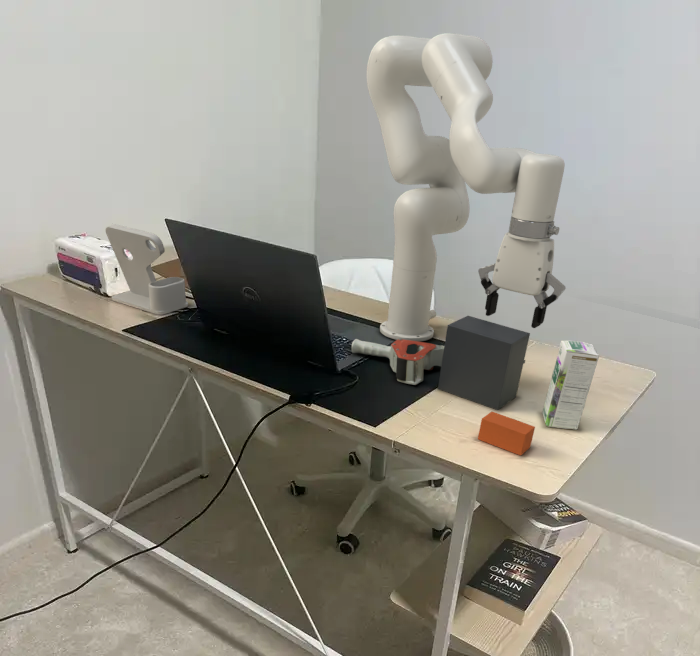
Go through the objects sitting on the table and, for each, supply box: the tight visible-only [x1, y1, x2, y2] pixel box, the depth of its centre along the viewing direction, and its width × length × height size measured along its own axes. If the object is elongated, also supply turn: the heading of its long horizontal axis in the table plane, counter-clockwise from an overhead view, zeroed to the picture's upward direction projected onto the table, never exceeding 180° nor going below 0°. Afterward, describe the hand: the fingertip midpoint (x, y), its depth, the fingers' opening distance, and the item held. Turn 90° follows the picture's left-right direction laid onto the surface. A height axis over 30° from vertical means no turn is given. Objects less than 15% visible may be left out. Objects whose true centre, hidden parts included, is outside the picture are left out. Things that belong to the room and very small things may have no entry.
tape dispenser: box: [351, 338, 444, 386], centre depth 136 cm, size 18×5×20 cm
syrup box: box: [541, 340, 600, 430], centre depth 117 cm, size 6×6×14 cm
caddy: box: [437, 315, 531, 411], centre depth 128 cm, size 13×13×15 cm
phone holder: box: [105, 223, 189, 316], centre depth 156 cm, size 17×10×18 cm, turn 59°
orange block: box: [477, 411, 536, 457], centre depth 111 cm, size 4×8×4 cm, turn 53°
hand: (512, 320), depth 129 cm, fingers open, 9 cm apart
